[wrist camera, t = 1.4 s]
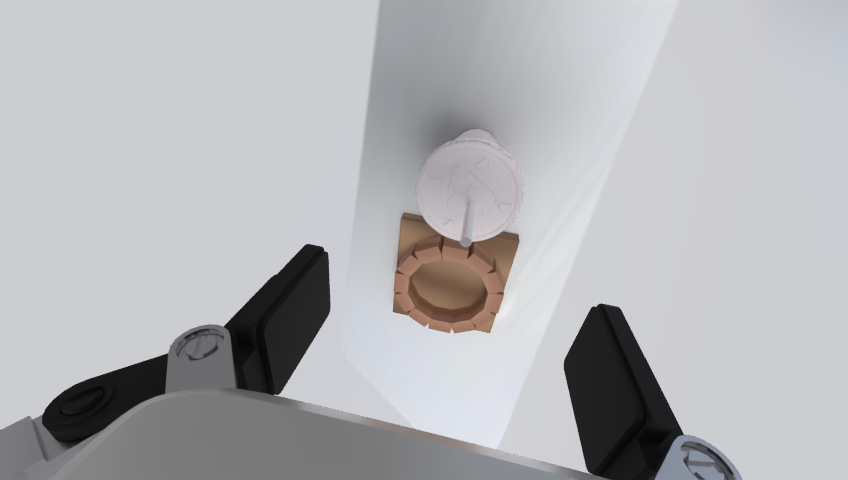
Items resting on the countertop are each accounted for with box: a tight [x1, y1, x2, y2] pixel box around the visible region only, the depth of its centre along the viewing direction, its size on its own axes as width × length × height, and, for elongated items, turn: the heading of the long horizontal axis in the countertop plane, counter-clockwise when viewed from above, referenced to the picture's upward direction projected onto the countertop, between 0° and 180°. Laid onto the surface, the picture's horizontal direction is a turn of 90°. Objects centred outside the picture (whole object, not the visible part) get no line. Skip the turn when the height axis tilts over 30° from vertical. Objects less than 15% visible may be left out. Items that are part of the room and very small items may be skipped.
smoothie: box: [416, 129, 523, 247], centre depth 21 cm, size 6×6×14 cm
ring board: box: [393, 213, 519, 333], centre depth 33 cm, size 12×11×3 cm
